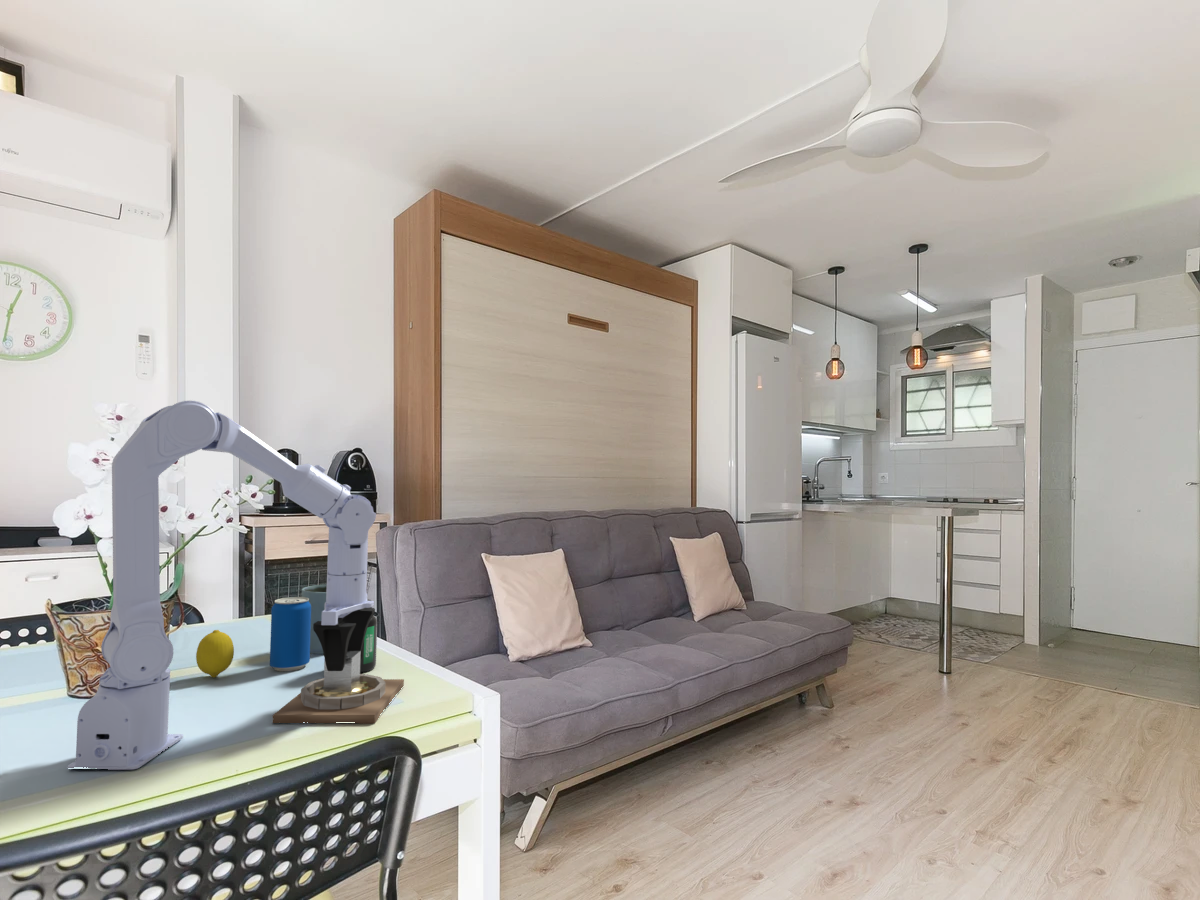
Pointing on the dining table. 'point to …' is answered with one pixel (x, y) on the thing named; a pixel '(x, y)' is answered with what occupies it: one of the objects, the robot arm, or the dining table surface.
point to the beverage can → (290, 633)
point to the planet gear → (343, 679)
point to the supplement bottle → (369, 647)
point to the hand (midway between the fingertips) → (344, 663)
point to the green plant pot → (315, 612)
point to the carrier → (340, 703)
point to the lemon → (215, 653)
